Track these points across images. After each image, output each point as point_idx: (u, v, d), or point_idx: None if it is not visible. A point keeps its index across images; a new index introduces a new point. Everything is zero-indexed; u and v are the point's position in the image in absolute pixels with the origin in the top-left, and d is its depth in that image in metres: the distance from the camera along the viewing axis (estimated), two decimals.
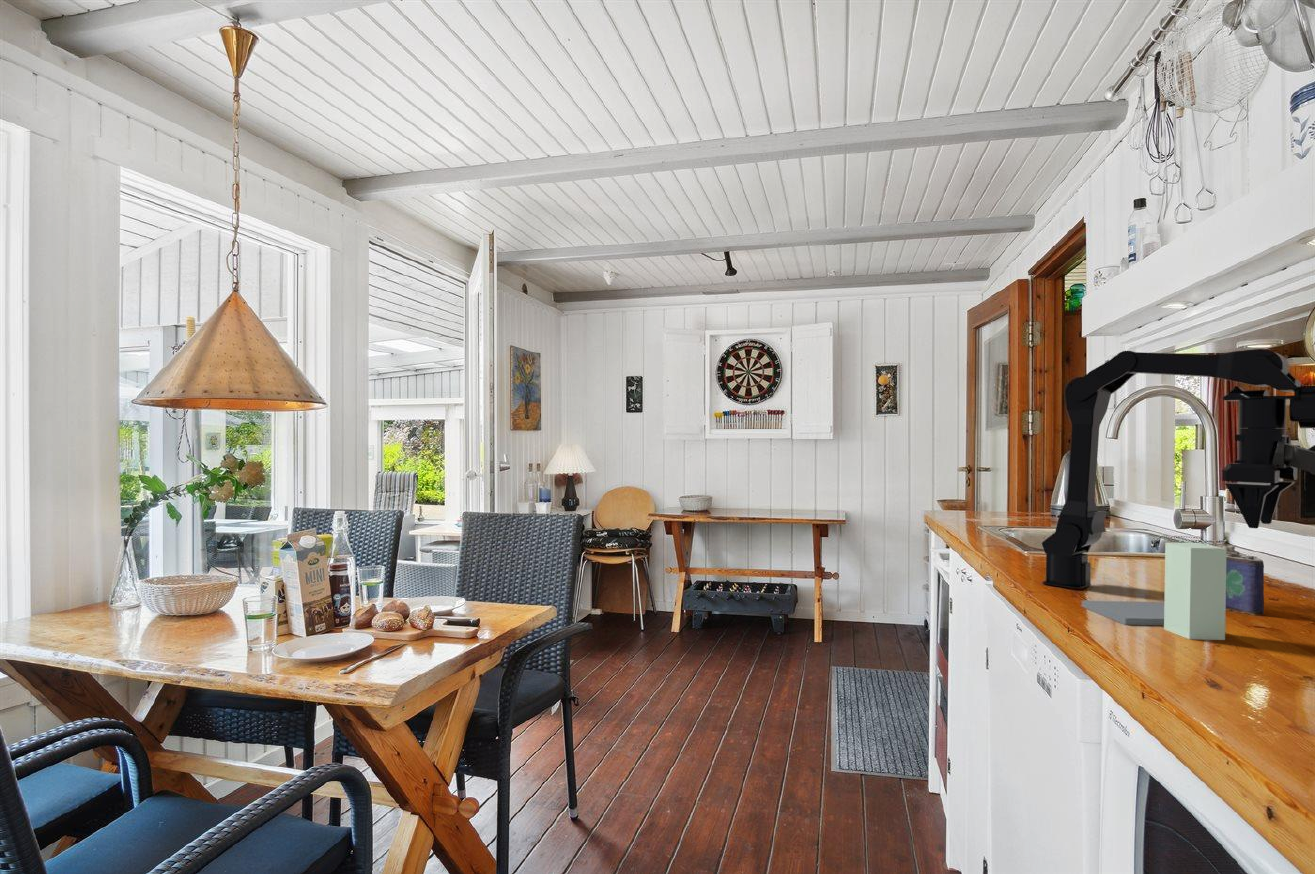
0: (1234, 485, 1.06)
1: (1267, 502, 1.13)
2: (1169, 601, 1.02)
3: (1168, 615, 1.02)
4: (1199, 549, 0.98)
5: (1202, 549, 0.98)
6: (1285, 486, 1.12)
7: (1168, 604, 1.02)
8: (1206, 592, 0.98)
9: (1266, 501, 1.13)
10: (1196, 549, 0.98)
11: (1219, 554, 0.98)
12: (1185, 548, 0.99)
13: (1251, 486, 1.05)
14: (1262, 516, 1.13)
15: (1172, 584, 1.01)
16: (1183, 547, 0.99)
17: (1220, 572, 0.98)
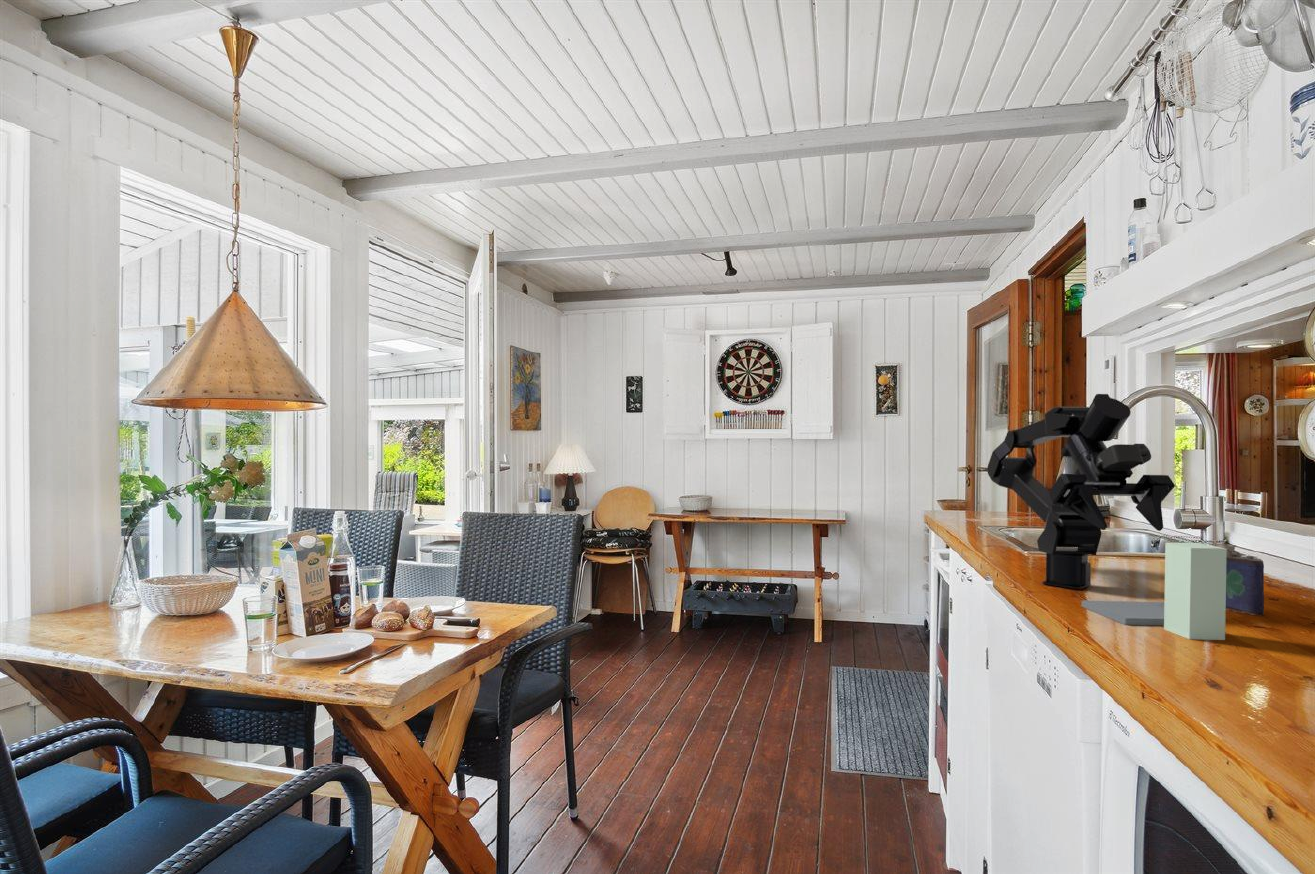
0: (1063, 502, 1.20)
1: (1151, 512, 1.16)
2: (1169, 601, 1.02)
3: (1168, 615, 1.02)
4: (1199, 549, 0.98)
5: (1202, 549, 0.98)
6: (1152, 491, 1.16)
7: (1168, 604, 1.02)
8: (1206, 593, 0.98)
9: (1150, 511, 1.16)
10: (1196, 549, 0.98)
11: (1219, 554, 0.98)
12: (1186, 548, 0.99)
13: (1068, 495, 1.18)
14: (1154, 525, 1.15)
15: (1172, 584, 1.01)
16: (1183, 547, 0.99)
17: (1220, 572, 0.98)
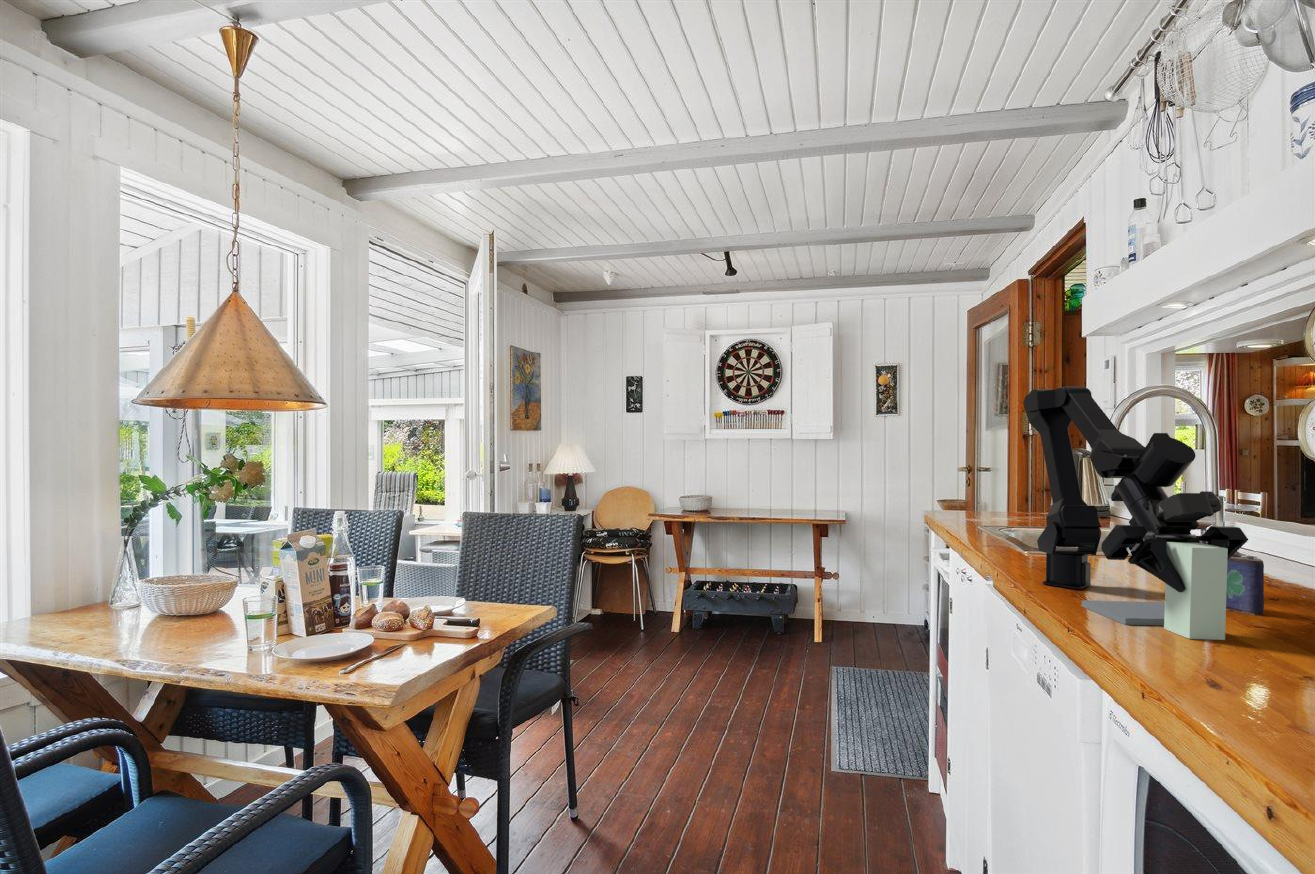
0: (1130, 558, 1.05)
1: None
2: (1170, 600, 1.02)
3: (1168, 614, 1.02)
4: (1200, 549, 0.98)
5: (1203, 549, 0.98)
6: None
7: (1168, 603, 1.02)
8: (1207, 592, 0.98)
9: None
10: (1197, 549, 0.98)
11: (1220, 554, 0.98)
12: (1187, 547, 0.99)
13: (1137, 550, 1.03)
14: None
15: None
16: (1184, 547, 0.99)
17: (1221, 572, 0.98)
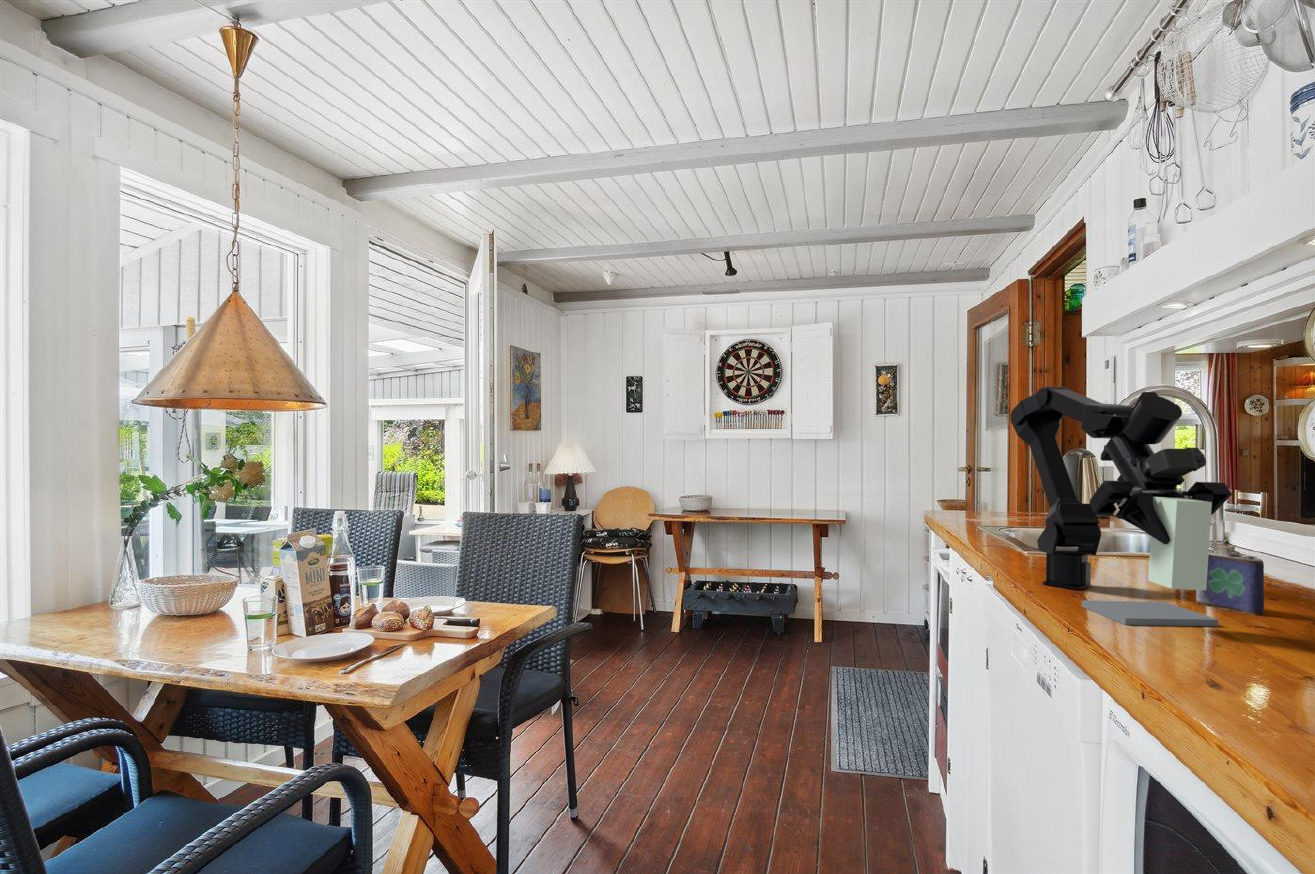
0: (1118, 513, 1.08)
1: None
2: (1154, 553, 1.05)
3: (1152, 567, 1.05)
4: (1185, 502, 1.01)
5: (1188, 502, 1.01)
6: None
7: (1153, 556, 1.05)
8: (1190, 544, 1.01)
9: None
10: (1182, 502, 1.01)
11: (1204, 507, 1.01)
12: (1172, 501, 1.02)
13: (1125, 505, 1.06)
14: None
15: None
16: (1170, 500, 1.02)
17: (1204, 525, 1.01)
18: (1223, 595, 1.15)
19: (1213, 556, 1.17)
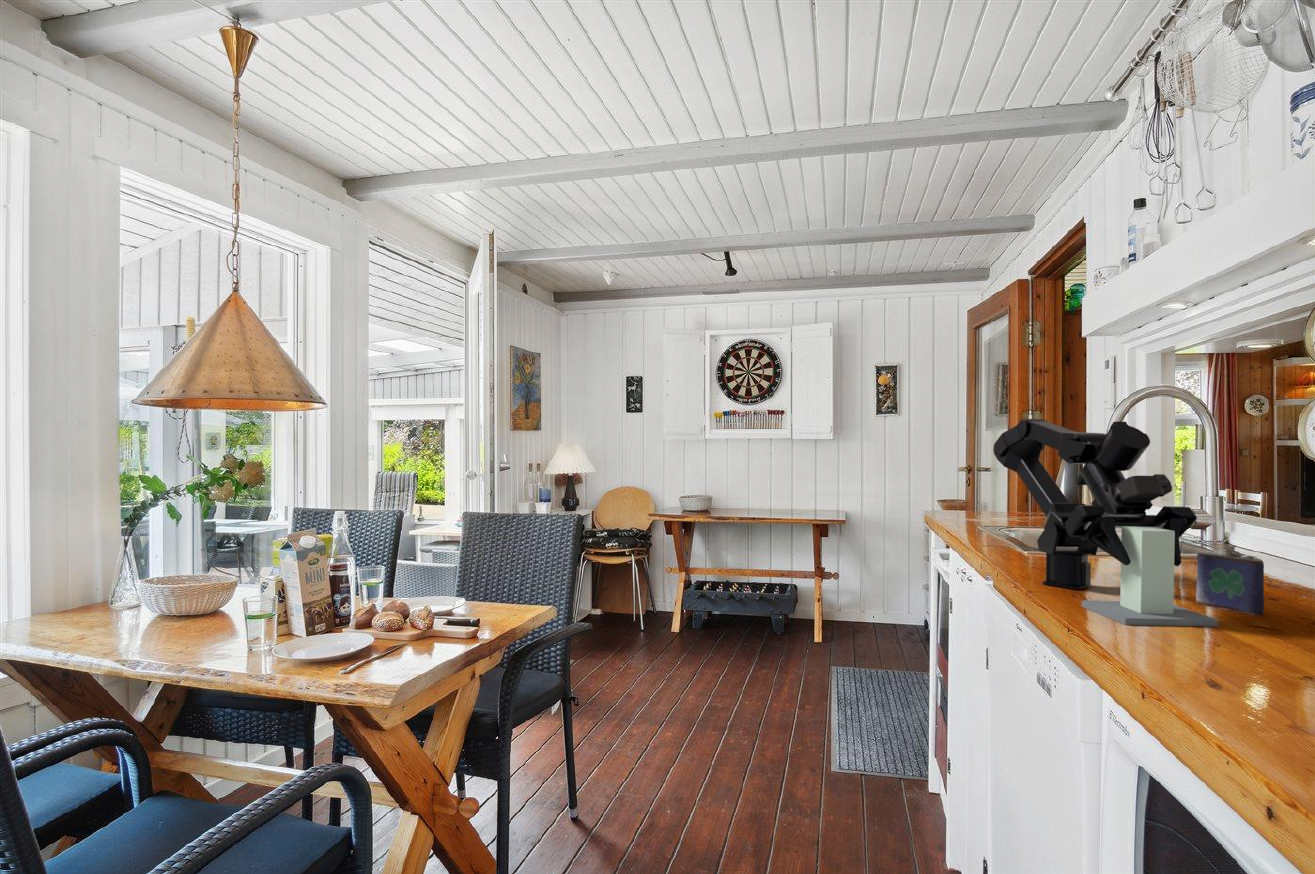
0: (1083, 535, 1.15)
1: None
2: (1125, 579, 1.12)
3: (1123, 592, 1.12)
4: (1150, 531, 1.08)
5: (1152, 531, 1.08)
6: (1169, 524, 1.11)
7: (1123, 582, 1.12)
8: (1156, 571, 1.08)
9: None
10: (1147, 531, 1.08)
11: (1168, 536, 1.08)
12: (1138, 530, 1.09)
13: (1089, 528, 1.13)
14: None
15: None
16: (1136, 530, 1.09)
17: (1169, 552, 1.08)
18: (1223, 595, 1.15)
19: (1213, 556, 1.17)
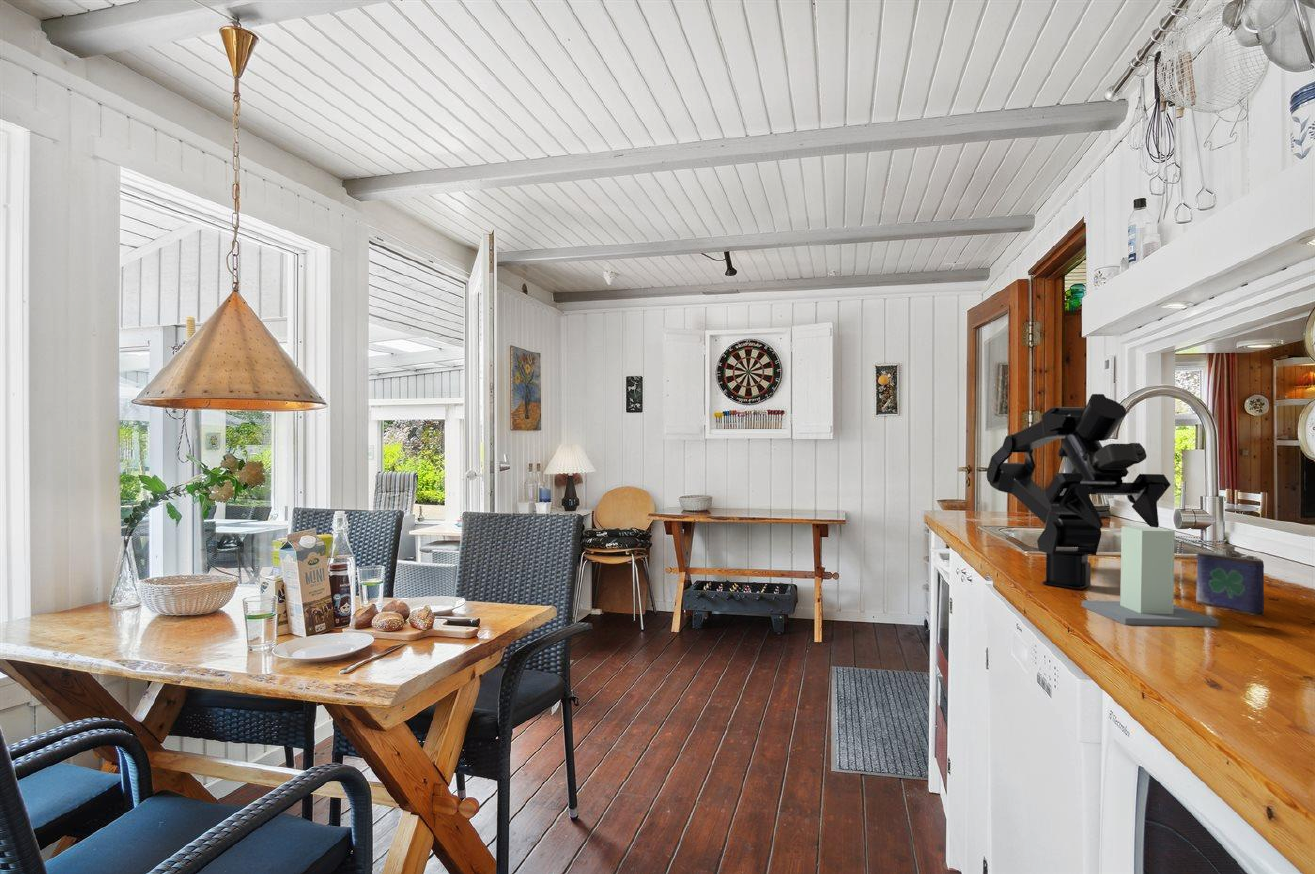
0: (1059, 501, 1.21)
1: (1146, 511, 1.17)
2: (1125, 579, 1.12)
3: (1123, 592, 1.12)
4: (1150, 531, 1.08)
5: (1152, 531, 1.08)
6: (1147, 490, 1.17)
7: (1123, 582, 1.12)
8: (1156, 571, 1.08)
9: (1146, 510, 1.17)
10: (1147, 531, 1.08)
11: (1168, 536, 1.08)
12: (1138, 530, 1.09)
13: (1065, 494, 1.19)
14: (1150, 523, 1.16)
15: (1127, 563, 1.11)
16: (1136, 530, 1.09)
17: (1169, 552, 1.08)
18: (1223, 595, 1.15)
19: (1213, 556, 1.17)
